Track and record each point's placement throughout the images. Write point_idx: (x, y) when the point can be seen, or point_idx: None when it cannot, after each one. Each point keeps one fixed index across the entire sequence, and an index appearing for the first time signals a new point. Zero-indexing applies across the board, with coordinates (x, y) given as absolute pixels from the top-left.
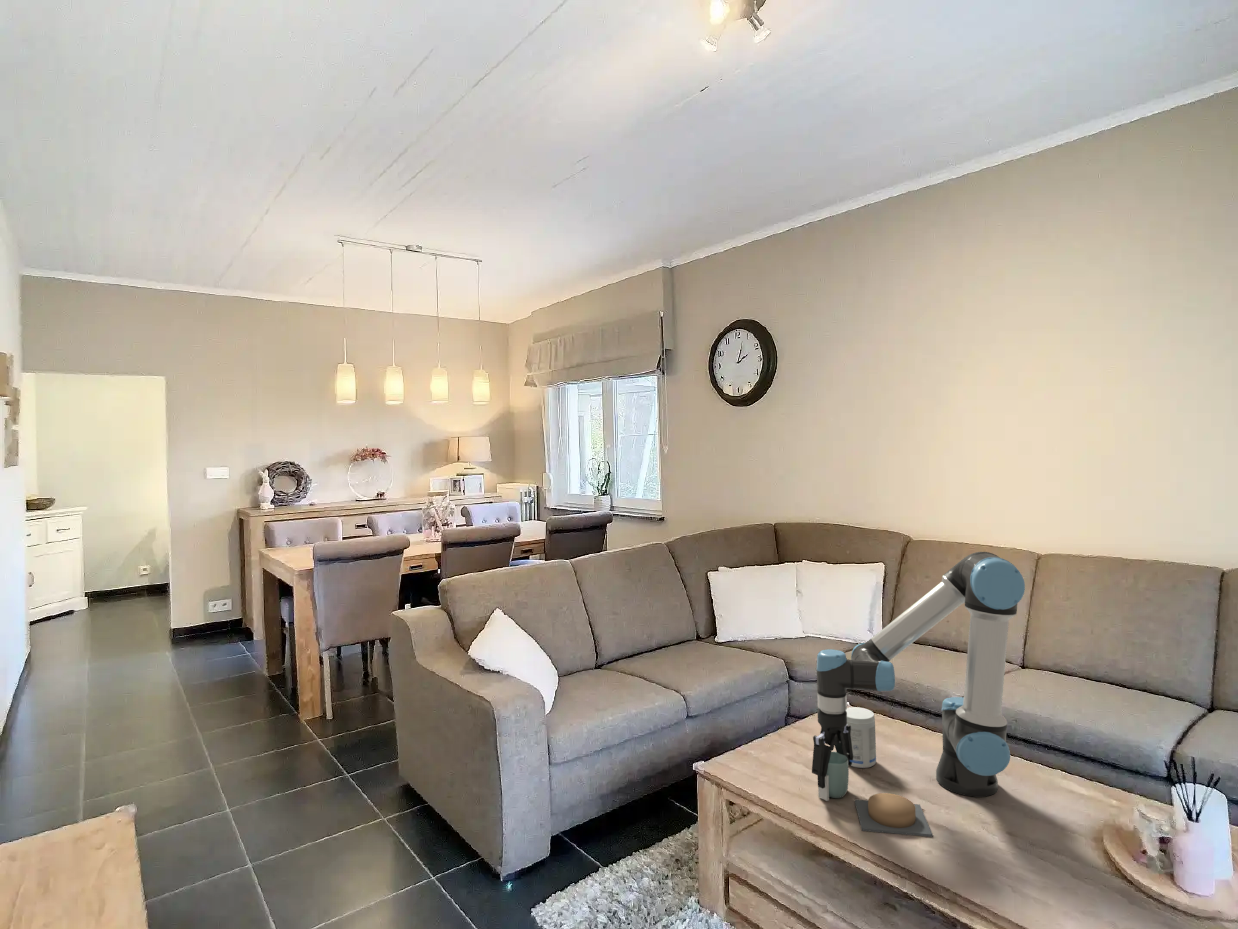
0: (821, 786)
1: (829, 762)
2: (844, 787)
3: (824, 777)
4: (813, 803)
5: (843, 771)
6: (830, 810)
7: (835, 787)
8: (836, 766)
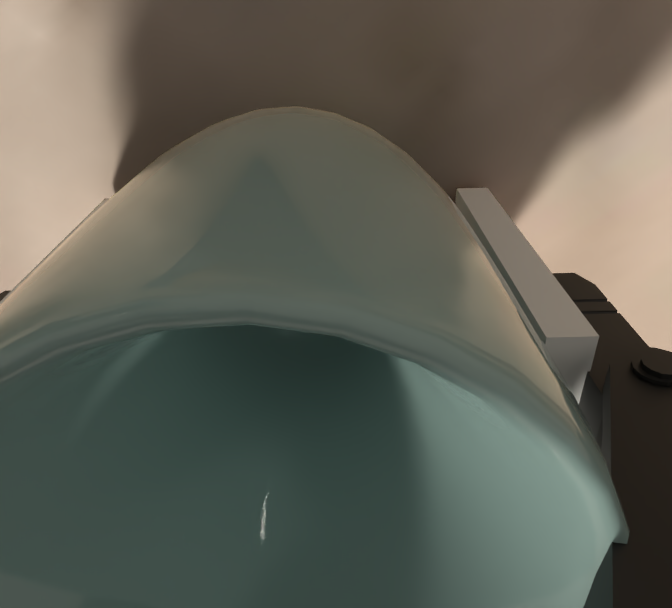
0: (596, 296)
1: (205, 547)
2: (311, 113)
3: (590, 354)
4: (596, 251)
5: (339, 199)
6: (626, 48)
7: (438, 184)
8: (525, 362)
